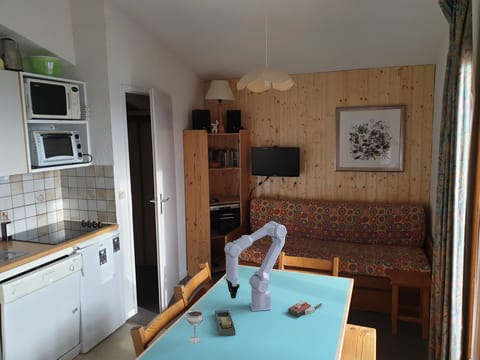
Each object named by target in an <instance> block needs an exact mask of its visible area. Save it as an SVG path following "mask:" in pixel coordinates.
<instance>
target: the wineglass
mask: <svg viewBox="0 0 480 360" xmlns="http://www.w3.org/2000/svg"><path fill="white" fill-rule="evenodd" d="M203 313H204V312H203V311H202V310H201V309H199V308H198V309H195V308H194V309H189V310H188V311H187V312H186V314H187V316H186V321H187V324H189V325H190V326H193V331H194V332H193V333H194V336H192V337H190V338H189V343H191V344H197V342H198V343H200V342H201V341H200V338H201V337H200V336H196V334H197V333H196V331H197V326H198V325H200V324H201V323H202V322H203V319H204V317H203ZM199 341H200V342H199Z"/></svg>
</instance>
